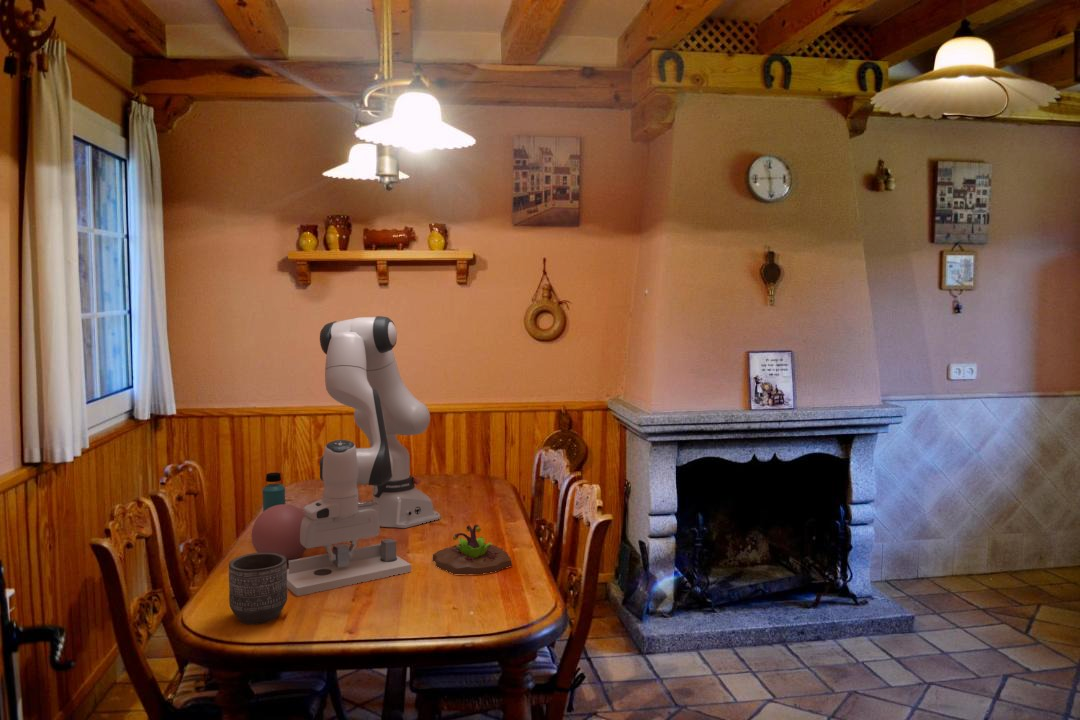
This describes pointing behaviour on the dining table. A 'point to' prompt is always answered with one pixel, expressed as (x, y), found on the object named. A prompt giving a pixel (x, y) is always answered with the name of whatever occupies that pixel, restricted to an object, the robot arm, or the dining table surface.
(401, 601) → the dining table surface
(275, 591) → the planter
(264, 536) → the balloon
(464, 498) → the dining table surface
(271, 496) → the beverage bottle
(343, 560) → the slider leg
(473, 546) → the plant
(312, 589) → the grey peg board
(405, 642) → the dining table surface
